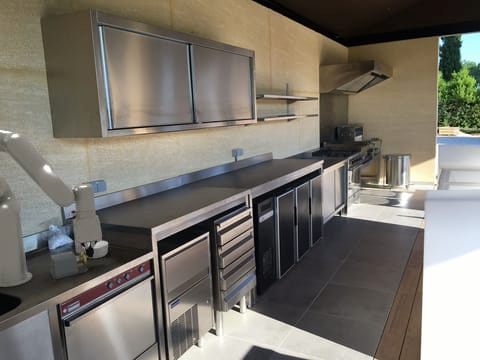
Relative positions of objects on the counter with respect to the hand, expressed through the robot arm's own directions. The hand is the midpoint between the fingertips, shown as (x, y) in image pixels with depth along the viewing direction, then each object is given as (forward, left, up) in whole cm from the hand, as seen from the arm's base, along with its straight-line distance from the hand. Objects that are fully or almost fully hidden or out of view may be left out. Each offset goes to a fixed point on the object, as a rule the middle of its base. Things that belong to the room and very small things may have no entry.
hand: (90, 256), depth 173 cm
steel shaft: (-8, 0, -3) cm, 8 cm away
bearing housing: (-9, 0, -5) cm, 10 cm away
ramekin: (+6, +14, -5) cm, 16 cm away
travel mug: (+2, +22, -5) cm, 23 cm away
